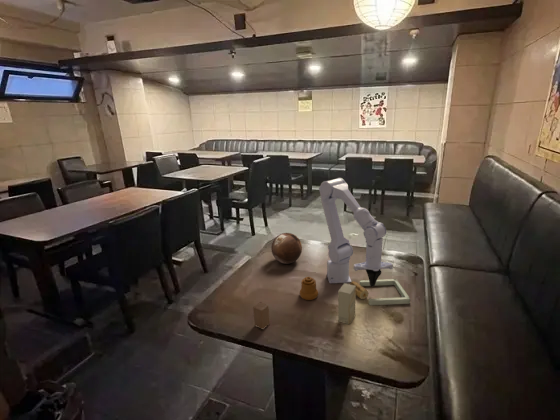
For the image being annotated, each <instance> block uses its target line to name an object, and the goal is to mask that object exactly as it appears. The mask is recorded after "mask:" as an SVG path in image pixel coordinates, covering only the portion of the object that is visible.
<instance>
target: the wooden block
mask: <svg viewBox="0 0 560 420" xmlns="http://www.w3.org/2000/svg"><path fill="white" fill-rule="evenodd" d="M252 311H253V323H254V326H255V325H257V326H259V327H260V328H264V327H265V326H267V325H268V324H269V323H270V324H271V321H270V320H271V319H270V307H269V305H268V304H267V303H264V302H262V301H260V302H258V303H257V304H255V305H254V306H253V308H252ZM270 324H269V325H270ZM269 325H268V326H269ZM268 326H267V327H268Z"/></svg>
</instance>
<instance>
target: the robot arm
mask: <svg viewBox="0 0 560 420" xmlns="http://www.w3.org/2000/svg"><path fill="white" fill-rule="evenodd" d="M318 190H319V194H320V201H321V205H322V209H323V213H324V217H325V220H326V224H327V228H328V232H329V233H328V234H329V236H330V239H331V240H330V242H329V244H328V245H327V249H328V259H329V260H328V259H327V260H326V276H327V279H328V283H329V284H344V283H347V284H350V283H351V282H352V279H351V277H350V261H351V257H352V256H353V255H354V249H353V246H352V245H351V243H350V240H349V239H348V238H346V237H345V236H344V233H343V230H342V229H343V228H342V225H341V220H340V218H339V212H338V209H337V205H336V202H337V199H339V200H341V201H342V202H343V203H344V204H345V205H346V206H347V208H349V209H350V210H351V212H352V213H353V219H354V220H355V222H356V223H357V224H358V225H359V227H360V228H361V229H362V230H363V233H362V234H363V236H364V238H365V243H366V244H365V245H366V247H365V249H366V250H365V252H366V253H365V261H364V262H359V263H354V264H353V270H354V271H355V272H358V271H359V270H360V271H362V270H363V271H364V270H365V272H366V274H367V277H368V280H369V283H370V286H369V287H373V288H374V287H375V283H376V281H377V280H379V278H380V276H381V275H382V269H383V270H385V269H388V270H393V268H394V267H393V263H392V262H386V261H385V262H384V261H382V256H383V255H382V254H383V253H382V252H383V242H384V241H383V240H384V239H383V238H384V237H385V236H386V235H387V228H386V226H385V225H384V223H383V222H379V220H376V219H375V218H374V217H373V216H372V215H371V212H370V211H369V210H368V209H367V208H366V207H361V205H360V204H359V202H358V201H357V200H356V197H354V195H353V194H352V192H351V191H350V190H349V185H348V183H347V182H346V181H345V179H343V178H342V177H337V178H334V179H330V180H323V181H322V182H321V183H320V186H319V187H318Z"/></svg>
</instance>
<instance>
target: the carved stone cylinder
mask: <svg viewBox="0 0 560 420" xmlns="http://www.w3.org/2000/svg"><path fill="white" fill-rule="evenodd" d="M349 284H351V285H355V286H356V297H357V298H359V299H361V300H365V299H367V298H368V296H369V291H368V290H367V289H366V288H365V286H361V285H360V283H358V282H357V281H355V280H354V281H351V282H349Z"/></svg>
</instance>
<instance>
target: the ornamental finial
mask: <svg viewBox="0 0 560 420" xmlns="http://www.w3.org/2000/svg"><path fill="white" fill-rule="evenodd" d="M300 285H301V287H300V289H299V296H300V298H302V299H303V300H305V301H313V300H315V299H317V298H318V297H319V296H318V295H319V290H318V289H317V281H316V279H314V278H313V277H311V276H306V277H304V278H303V279H301V284H300Z"/></svg>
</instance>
